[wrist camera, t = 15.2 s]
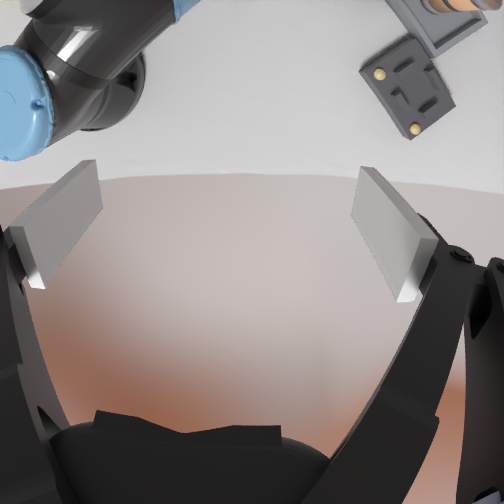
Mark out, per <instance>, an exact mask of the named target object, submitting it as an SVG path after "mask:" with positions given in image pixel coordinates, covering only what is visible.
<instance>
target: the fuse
mask: <svg viewBox="0 0 504 504" xmlns="http://www.w3.org/2000/svg"><path fill="white" fill-rule="evenodd" d="M420 2H421V4H422V6H423V7H424V9H425V10H427V11H428V12H429V13H431V14H434V15H439V14H446V13H451V12H464V11H473V10H484V11H485V10H498V9H500V7H501V6H502V0H420Z"/></svg>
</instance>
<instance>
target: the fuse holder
mask: <svg viewBox="0 0 504 504" xmlns="http://www.w3.org/2000/svg"><path fill="white" fill-rule="evenodd" d="M359 73H360V74H361V76H362V77H363V78H364V80H365V81H366V82H367V84H368V85H369V87H370V88H371V89H372V91H373V92H374V94H375V95H376V96H377V98H378V99H379V101H380V102H381V104H382V105H383V106H384V108H385V109H386V111H387V112H388V114H389V115H390V117H391V119H392V120H393V122H394V123H395V125H396V126H397V128H398V129H399V131H400V133H401V134H402V136H404V137H406V138H407V139H409V140H412V139H413V138H415V137H416V136H417V135H419V134H420V133H421V132H423V131H424V130H425V129H427V128H428V127H429V126H430V125H432V124H433V123H434V122H436V121H437V120H438V119H440V118H441V117H442V116H444V115H445V114H446V113H448V112H449V111H450V110H452V109H453V108H454V107H456V105H455V103H454V101H453V99H452V98H451V96H450V94H449V92H448V90H447V88H446V86H445V85H444V83H443V81H442V79H441V77H440V76H439V74H438V72H437V71H436V69H435V67H434V66H433V64H432V62H431V61H430V59H429V57H428V56H427V54H426V53H425V51H424V49H423V48H422V46H421V45H420V43H419V42H418V40H417V39H416V38H411V39H406V40H404V41H403V42H401V43H400V44H398V45H397V46H395V47H394V48H392V49H391V50H389V51H388V52H386V53H385V54H383V55H382V56H381V57H379V58H378V59H376V60H375V61H373V62H372V63H371V64H369V65H368V66H366V67H365V68H364V69H362V70H361V71H359Z"/></svg>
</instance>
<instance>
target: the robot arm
mask: <svg viewBox="0 0 504 504" xmlns="http://www.w3.org/2000/svg"><path fill="white" fill-rule="evenodd" d="M199 1H200V0H20V8H21V12H22V13H24V14H25V15H28V16H30V17H32V20H31V21H30V22H29V24H28V25H27V26H26V28H25V29H24V30H23V32H22V33H21V34H20V36H19V37H18V39H17V40H16V42H15V43H14V44H13V45H6V46H3V47H1V48H0V159H1V160H4V161H20V160H23V159H25V158H28V157H30V156H34V155H37V154H39V153H40V152H42V151H43V150H44V149H45V148H47V147H48V146H50V145H52V144H53V143H55V142H57V141H59V140H61V139H62V138H64V137H66V136H68V135H70V134H71V133H73V132H75V131H77V130H81V131H99V130H103V129H106V128H109V127H111V126H113V125H115V124H117V123H118V122H120V121H121V120H123V119H124V118H125V117H126V116H128V115H129V114H130V112H131V111H132V110H133V109H134V107H135V106H136V104H137V103H138V101H139V99H140V96H141V94H142V90H143V86H144V78H145V73H144V66H143V62H142V59H141V56H140V54H139V53H140V52H141V51H142V50H143V49H144V48H145V47H147V46H148V45H149V44H150V43H151V42H152V41H153V40H154V39H155V38H156V37H158V36H159V35H160V34H161V33H162V32H163V31H165V30H166V29H167V28H168V27H169V26H170V25H172V24H174V25H175V24H176V23H177V22H178V21H179V20H180V17H181V16H183V15H184V14H185V13H186V12H187V11H188V10H190V9H191V8H192V7H193V6H194V5H196V4H197V3H198V2H199ZM102 209H103V205H102V199H101V193H100V187H99V180H98V173H97V166H96V160H83V161H82V162H80V163H79V164H78V165H77V166H75V167H74V168H73V169H72V170H70V171H69V172H68V173H67V174H65V175H64V176H63V177H62V178H61V179H59V180H58V181H57V182H56V183H55V184H54V185H52V186H51V187H50V188H49V189H48V190H47V191H46V192H44V193H43V194H42V195H41V196H40V197H39V198H38V199H37V200H35V201H34V202H33V203H32V204H31V205H30V206H29V207H28V208H27V209H26V210H25V211H24V212H23V213H22V214H21V215H20V216H18V217H17V218H16V219H15V220H14V221H13V222H12V223H11V224H10V225H9V227H8V228H7V229H6V230H5V231H4V232H3V231H2V228H1V225H0V504H402V502H403V501H404V499H405V497H406V495H407V493H408V491H409V489H410V487H411V486H412V484H413V482H414V480H415V478H416V476H417V474H418V472H419V470H420V468H421V466H422V463H423V461H424V459H425V457H426V455H427V452H428V450H429V448H430V446H431V443H432V441H433V438H434V436H435V433H436V431H437V428H438V424H439V417H436V416H435V413H436V410H437V407H438V404H439V402H440V399H441V396H442V393H443V391H444V388H445V385H446V382H447V379H448V376H449V372H450V369H451V366H452V363H453V360H454V356H455V353H456V349H457V346H458V342H459V338H460V334H461V330H462V326H463V322H464V337H465V358H466V400H465V421H464V435H463V445H462V454H461V462H460V470H459V476H458V484H457V492H456V504H504V260H503V259H500V258H496V257H495V258H491V260H490V261H489V264H488V266H487V268H486V267H483V266H479V265H476V264H475V262H474V258H473V257H472V255H471V254H469V253H468V252H467V251H465V250H464V249H462V248H460V247H457V246H454V245H448V244H447V242H446V241H445V240H444V239H443V237H442V236H441V235H440V234H439V233H438V232H437V230H436V229H435V228H434V227H432V224H431V223H430V222H429V221H428V220H427V219H426V218H424V217H423V216H422V215H420V214H419V213H416V212H415V211H414V209H413V208H412V207H411V206H410V205H409V204H408V203H407V201H406V200H405V199H404V198H403V197H402V196H401V195H400V194H399V193H398V192H397V191H396V190H395V188H394V187H393V186H392V185H391V184H390V183H389V182H388V181H387V180H386V179H385V178H384V177H383V176H382V175H381V174H380V173H379V172H378V171H377V170H376V169H375V168H372V167H364V166H360V172H359V177H358V182H357V188H356V193H355V198H354V202H353V207H352V212H351V217H352V218H353V220H354V222H355V224H356V225H357V227H358V229H359V231H360V233H361V234H362V236H363V238H364V240H365V242H366V244H367V245H368V247H369V249H370V251H371V253H372V254H373V257H374V259H375V261H376V262H377V264H378V266H379V268H380V270H381V272H382V274H383V276H384V278H385V280H386V282H387V284H388V286H389V288H390V290H391V292H392V294H393V296H394V299H395V301H396V302H413V301H414V299H415V297H416V295H417V292H418V290H419V289H420V291H421V293H422V295H423V298H422V300H421V302H420V304H419V306H418V309H417V310H416V313H415V315H414V317H413V320H412V322H411V324H410V326H409V328H408V330H407V332H406V334H405V336H404V338H403V340H402V342H401V344H400V346H399V348H398V350H397V352H396V354H395V356H394V358H393V360H392V361H391V363H390V365H389V367H388V369H387V370H386V372H385V374H384V376H383V378H382V379H381V381H380V383H379V385H378V386H377V388H376V390H375V391H374V393H373V395H372V397H371V398H370V400H369V401H368V403H367V405H366V406H365V408H364V409H363V411H362V413H361V414H360V416H359V417H358V419H357V420H356V422H355V423H354V425H353V426H352V428H351V429H350V431H349V433H348V434H347V435H346V437H345V438H344V440H343V441H342V443H341V444H340V445H339V447H338V448H337V449H336V451H335V452H334V453H333V455H332V456H331V457H330V459H329V458H328V457H327V456H325V455H324V454H322V453H321V452H320V451H318V450H316V449H314V448H312V447H311V446H309V445H306V444H304V443H302V442H299V441H296V440H293V439H289V438H284V437H281V426H280V425H275V426H242V425H233V426H227V427H222V428H216V429H210V430H204V431H198V432H191V433H180V432H176V431H173V430H171V429H168V428H165V427H162V426H160V425H157V424H154V423H151V422H149V421H146V420H144V419H141V418H139V417H134V416H128V415H121V414H116V413H110V412H105V411H100V410H97V411H96V414H95V418H94V422H87V423H81V424H77V425H74V426H70V425H69V422H68V421H67V419H66V416H65V414H64V412H63V409H62V407H61V405H60V402H59V400H58V398H57V395H56V392H55V390H54V387H53V384H52V382H51V379H50V376H49V373H48V370H47V368H46V365H45V362H44V359H43V355H42V352H41V350H40V346H39V343H38V339H37V336H36V332H35V329H34V326H33V322H32V318H31V314H30V310H29V305H28V301H27V297H26V293H25V288H24V286H23V284H22V280H23V279H24V277H25V276H27V279H28V281H29V283H30V286H31V287H32V288H41V289H46V287H47V286H48V284H49V283H50V281H51V280H52V278H53V277H54V275H55V274H56V272H57V271H58V269H59V267H60V266H61V264H62V263H63V262H64V260H65V259H66V257H67V256H68V254H69V253H70V252H71V250H72V249H73V247H74V246H75V245H76V243H77V242H78V240H79V239H80V238H81V236H82V235H83V234H84V232H85V231H86V230H87V228H88V227H89V226H90V224H91V223H92V222H93V220H94V219H95V218H96V216H97V215H98V214H99V213H100V211H101V210H102Z"/></svg>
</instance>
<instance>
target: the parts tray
mask: <svg viewBox="0 0 504 504" xmlns="http://www.w3.org/2000/svg"><path fill="white" fill-rule="evenodd" d="M385 1H386V2H387V4H388V5H389V6H390V8H391V9H392V10H393V11H394V13H395V14H396V15H397V17H398V18H399V19H400V21H401V22H402V23H403V25H404V26H405V28H406V29H407V30H408V32H409V33H410V35H411V36H412V38H416V39H417V40H418V42H419V43H420V45H421V46H422V48H423V49H424V51H425V53H426V54H427V56H428V57H429V58H437V57H438V56H439V55H441V54H442V53H444V52H445V51H447V50H448V49H450V48H451V47H453V46H454V45H456V44H457V43H459V42H460V41H462V40H463V39H465V38H466V37H468V36H469V35H471V34H472V33H474V32H475V31H477V30H478V29H480V28H481V27H483V26H484V25H486V24H487V23H488V21H487V20H486V18H485V16H484V14H483V13H482V11H481V10H473V11H464V12H451V13H446V14H439V15H434V14H431V13H429V12H428V11H427V10H425V9H424V7H423V6H422V4H421V2H420V0H385Z"/></svg>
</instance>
